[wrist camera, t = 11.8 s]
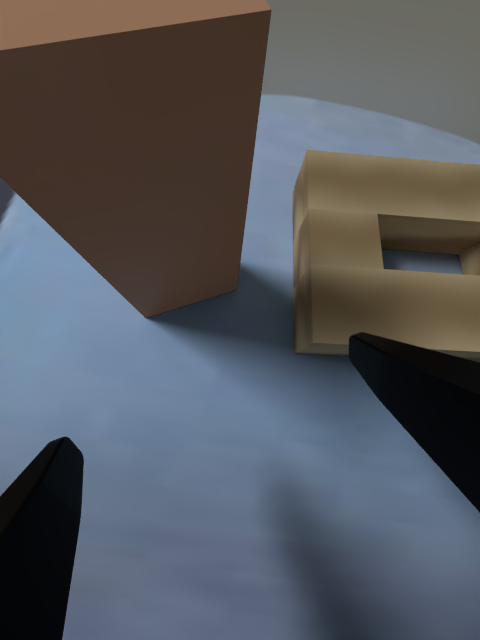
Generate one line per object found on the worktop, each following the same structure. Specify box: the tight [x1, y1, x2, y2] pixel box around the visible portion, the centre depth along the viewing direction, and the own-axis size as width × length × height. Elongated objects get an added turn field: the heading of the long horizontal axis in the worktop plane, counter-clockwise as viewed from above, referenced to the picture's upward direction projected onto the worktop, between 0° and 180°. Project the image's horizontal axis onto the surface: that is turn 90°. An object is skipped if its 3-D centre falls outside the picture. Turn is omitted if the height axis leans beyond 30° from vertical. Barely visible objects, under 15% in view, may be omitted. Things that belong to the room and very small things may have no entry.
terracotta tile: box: [0, 0, 271, 318], centre depth 11 cm, size 2×6×13 cm, turn 110°
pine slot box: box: [293, 150, 480, 362], centre depth 17 cm, size 12×16×4 cm
